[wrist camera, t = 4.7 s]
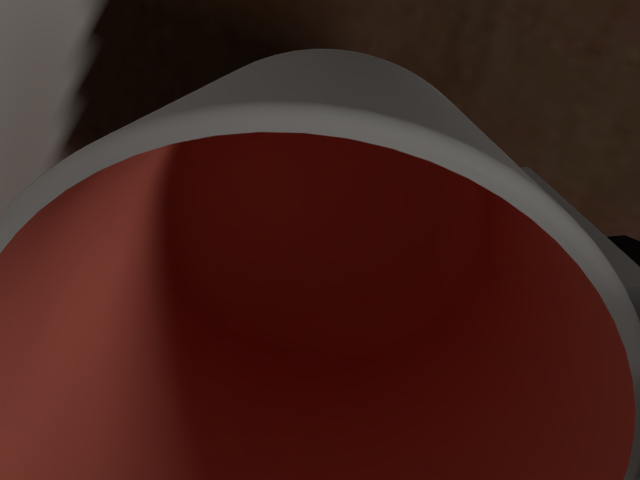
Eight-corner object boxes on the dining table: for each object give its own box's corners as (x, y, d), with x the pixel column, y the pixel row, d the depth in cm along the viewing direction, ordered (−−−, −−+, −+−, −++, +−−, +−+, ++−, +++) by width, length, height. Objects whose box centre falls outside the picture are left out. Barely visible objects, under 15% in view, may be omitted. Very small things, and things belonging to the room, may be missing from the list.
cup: (116, 236, 17) (-148, 485, 8) (287, -35, 14) (154, -124, 5) (351, 387, 19) (349, 725, 10) (554, 185, 16) (830, 425, 7)
